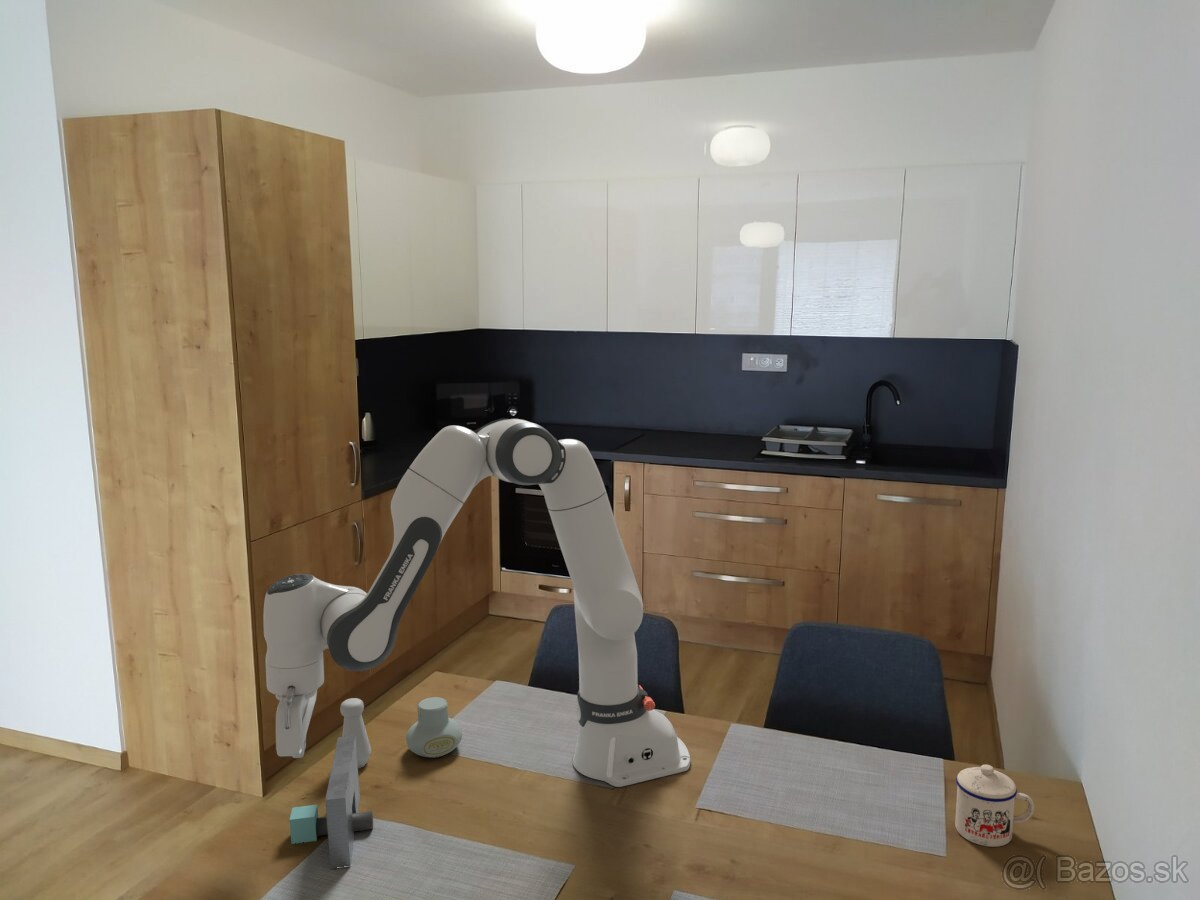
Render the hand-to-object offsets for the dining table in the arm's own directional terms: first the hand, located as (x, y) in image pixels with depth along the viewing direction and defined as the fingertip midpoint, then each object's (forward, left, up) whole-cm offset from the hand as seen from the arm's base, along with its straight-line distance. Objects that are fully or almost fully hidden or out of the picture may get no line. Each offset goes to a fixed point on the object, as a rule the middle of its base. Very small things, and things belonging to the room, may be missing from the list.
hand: (299, 753), depth 144 cm
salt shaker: (-7, -22, -15) cm, 27 cm away
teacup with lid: (-112, +24, -15) cm, 115 cm away
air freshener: (-22, -24, -15) cm, 36 cm away
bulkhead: (-7, 0, -15) cm, 16 cm away
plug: (-4, 0, -15) cm, 16 cm away
